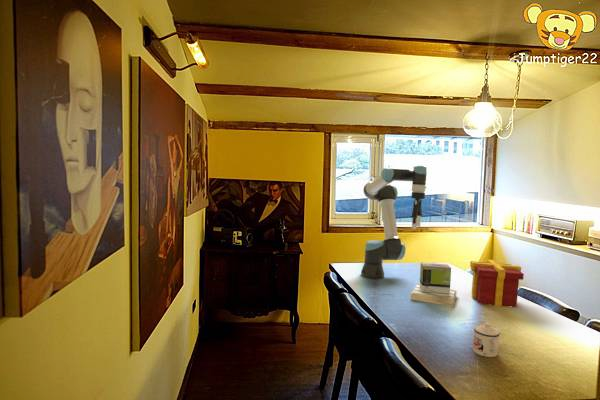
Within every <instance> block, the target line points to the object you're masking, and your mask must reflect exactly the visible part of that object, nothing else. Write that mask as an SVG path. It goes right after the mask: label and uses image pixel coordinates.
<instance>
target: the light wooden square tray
mask: <svg viewBox="0 0 600 400" xmlns="http://www.w3.org/2000/svg"><path fill="white" fill-rule="evenodd" d="M456 298H457V290H456V289H455V288H454V289H453V288H450V294H446V293H433V292H422V291H421V288H420V283H417V284H416V285H415V287H414V288H413V290H412V291H411V293H410V300H413V301H418V302H425V303H429V304H434V305H435V304H437V305H441V306H447V307H455V302H456Z"/></svg>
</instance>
